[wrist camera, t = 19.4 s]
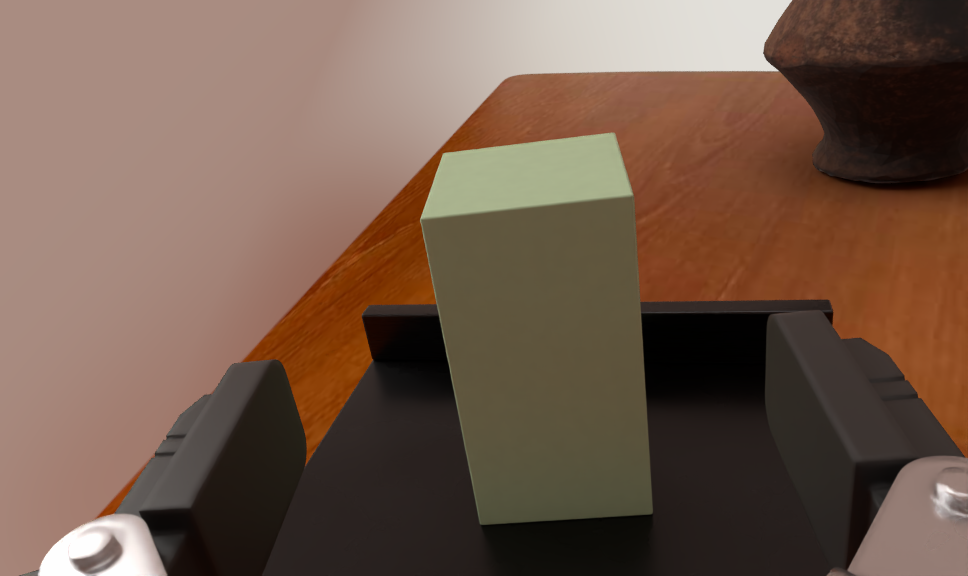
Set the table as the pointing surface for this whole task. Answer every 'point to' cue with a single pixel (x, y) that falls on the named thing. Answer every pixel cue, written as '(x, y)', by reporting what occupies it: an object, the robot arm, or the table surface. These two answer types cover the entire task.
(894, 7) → the jug
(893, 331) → the table surface
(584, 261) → the block
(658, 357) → the bench
